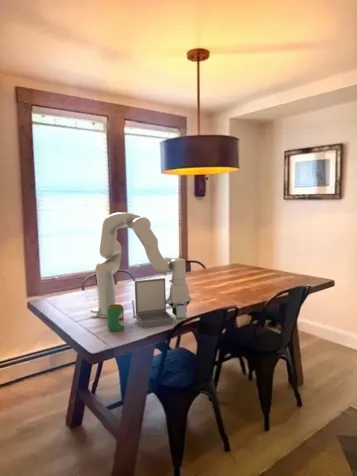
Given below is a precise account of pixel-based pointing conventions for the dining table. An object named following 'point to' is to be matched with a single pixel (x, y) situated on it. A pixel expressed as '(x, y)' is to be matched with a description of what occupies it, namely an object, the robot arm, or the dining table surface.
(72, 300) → the dining table surface
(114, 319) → the beverage can
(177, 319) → the mat
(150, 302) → the equipment case
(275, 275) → the dining table surface
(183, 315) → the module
